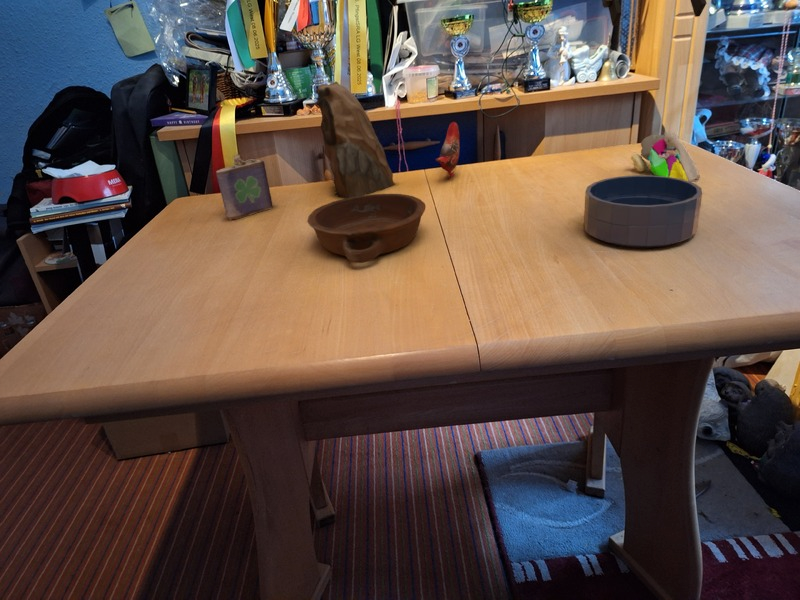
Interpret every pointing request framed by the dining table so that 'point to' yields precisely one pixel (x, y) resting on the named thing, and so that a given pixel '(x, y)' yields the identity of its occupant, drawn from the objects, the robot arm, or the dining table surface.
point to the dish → (367, 224)
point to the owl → (351, 144)
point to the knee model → (666, 157)
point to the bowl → (642, 210)
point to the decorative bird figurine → (450, 149)
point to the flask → (244, 188)
